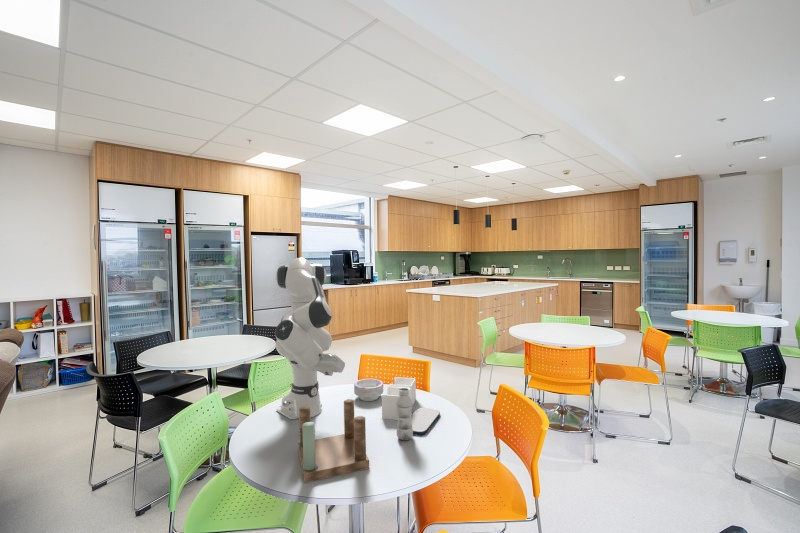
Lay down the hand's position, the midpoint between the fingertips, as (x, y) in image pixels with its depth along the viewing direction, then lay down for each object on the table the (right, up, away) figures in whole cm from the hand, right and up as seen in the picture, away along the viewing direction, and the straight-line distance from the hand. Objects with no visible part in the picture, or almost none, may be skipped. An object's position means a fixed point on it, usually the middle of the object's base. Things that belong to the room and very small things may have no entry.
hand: (329, 373), depth 142 cm
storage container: (+27, -28, +40) cm, 56 cm away
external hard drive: (+36, -29, +24) cm, 52 cm away
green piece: (-5, -27, -12) cm, 30 cm away
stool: (+2, -30, -4) cm, 30 cm away
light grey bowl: (+10, -28, +54) cm, 62 cm away
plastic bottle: (+29, -29, +10) cm, 42 cm away
